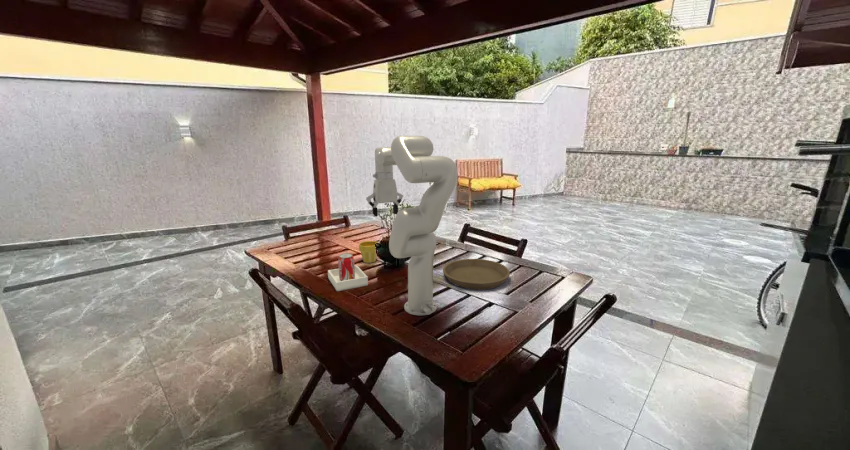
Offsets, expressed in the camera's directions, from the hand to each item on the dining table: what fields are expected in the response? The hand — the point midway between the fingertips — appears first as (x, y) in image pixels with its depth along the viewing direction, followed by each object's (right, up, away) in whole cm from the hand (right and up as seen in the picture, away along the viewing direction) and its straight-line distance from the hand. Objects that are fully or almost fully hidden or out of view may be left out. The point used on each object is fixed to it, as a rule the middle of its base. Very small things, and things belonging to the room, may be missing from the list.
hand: (385, 214), depth 157 cm
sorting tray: (-18, -30, +4) cm, 36 cm away
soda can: (-18, -30, +4) cm, 35 cm away
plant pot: (-12, -24, +31) cm, 41 cm away
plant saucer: (+41, -30, +10) cm, 52 cm away
